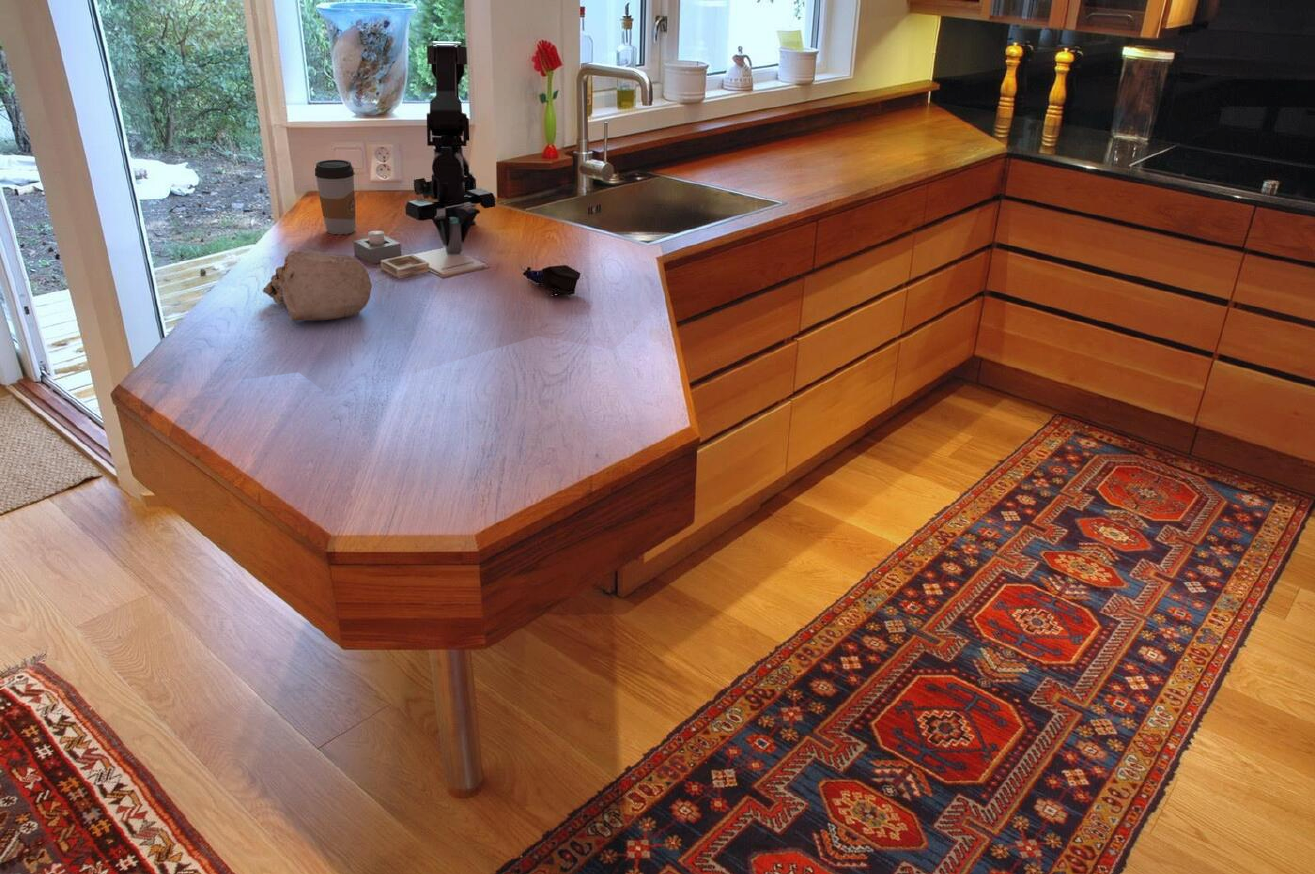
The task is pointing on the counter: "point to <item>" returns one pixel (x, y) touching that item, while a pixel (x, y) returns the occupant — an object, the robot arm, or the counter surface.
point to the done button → (376, 238)
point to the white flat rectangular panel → (449, 263)
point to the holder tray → (405, 266)
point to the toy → (555, 278)
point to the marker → (454, 236)
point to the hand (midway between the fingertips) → (453, 244)
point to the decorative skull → (320, 285)
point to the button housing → (377, 250)
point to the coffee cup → (337, 195)
